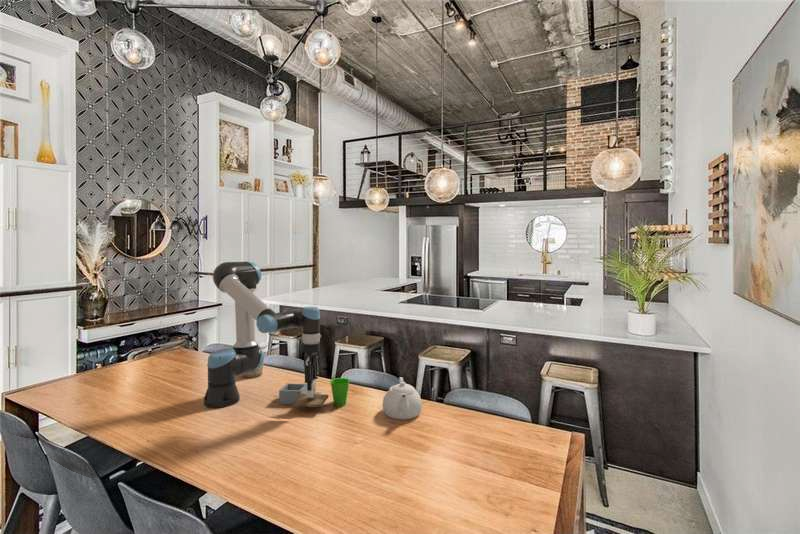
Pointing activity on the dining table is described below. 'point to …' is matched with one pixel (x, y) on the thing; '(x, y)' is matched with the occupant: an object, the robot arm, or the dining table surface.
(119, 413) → the dining table surface
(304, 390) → the grey open box
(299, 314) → the robot arm
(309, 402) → the lid
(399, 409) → the teapot
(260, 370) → the planter
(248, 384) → the dining table surface
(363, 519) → the dining table surface
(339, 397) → the cup
